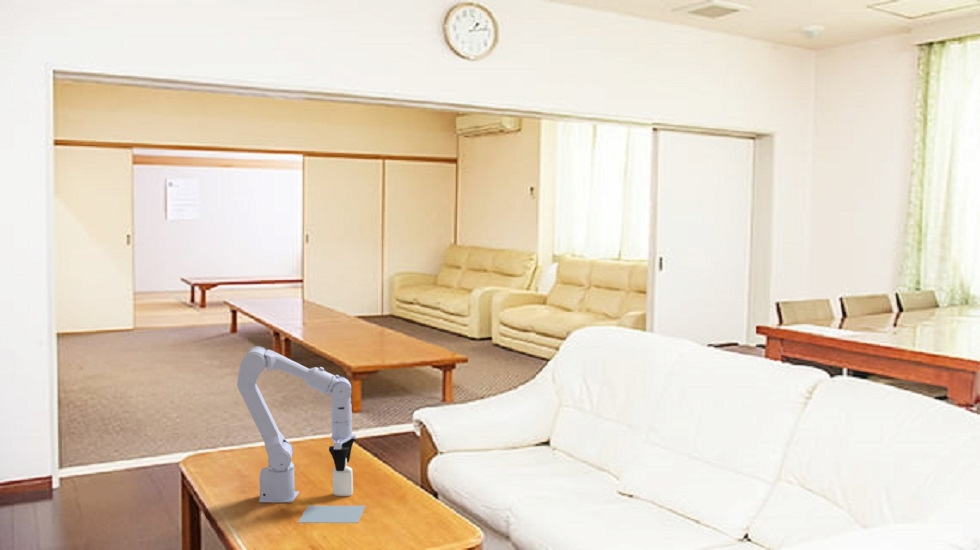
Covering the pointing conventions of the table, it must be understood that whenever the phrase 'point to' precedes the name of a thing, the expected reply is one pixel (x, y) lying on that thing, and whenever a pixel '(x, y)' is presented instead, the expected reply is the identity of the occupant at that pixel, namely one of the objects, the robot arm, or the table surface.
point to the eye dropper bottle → (343, 481)
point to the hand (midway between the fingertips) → (342, 466)
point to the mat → (332, 514)
